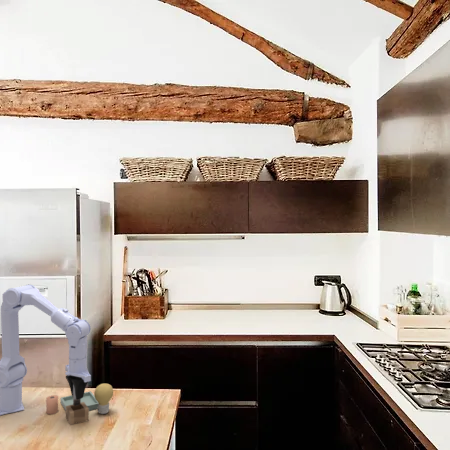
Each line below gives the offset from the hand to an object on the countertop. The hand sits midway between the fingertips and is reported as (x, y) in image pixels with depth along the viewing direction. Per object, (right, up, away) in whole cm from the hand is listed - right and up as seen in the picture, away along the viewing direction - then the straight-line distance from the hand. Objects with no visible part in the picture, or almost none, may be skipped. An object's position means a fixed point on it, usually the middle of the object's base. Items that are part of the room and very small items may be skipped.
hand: (77, 397), depth 140 cm
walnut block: (0, -8, 0) cm, 8 cm away
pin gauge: (0, -2, 0) cm, 2 cm away
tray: (-3, -7, +10) cm, 13 cm away
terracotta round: (-11, -7, +5) cm, 14 cm away
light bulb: (+7, -8, +5) cm, 12 cm away
